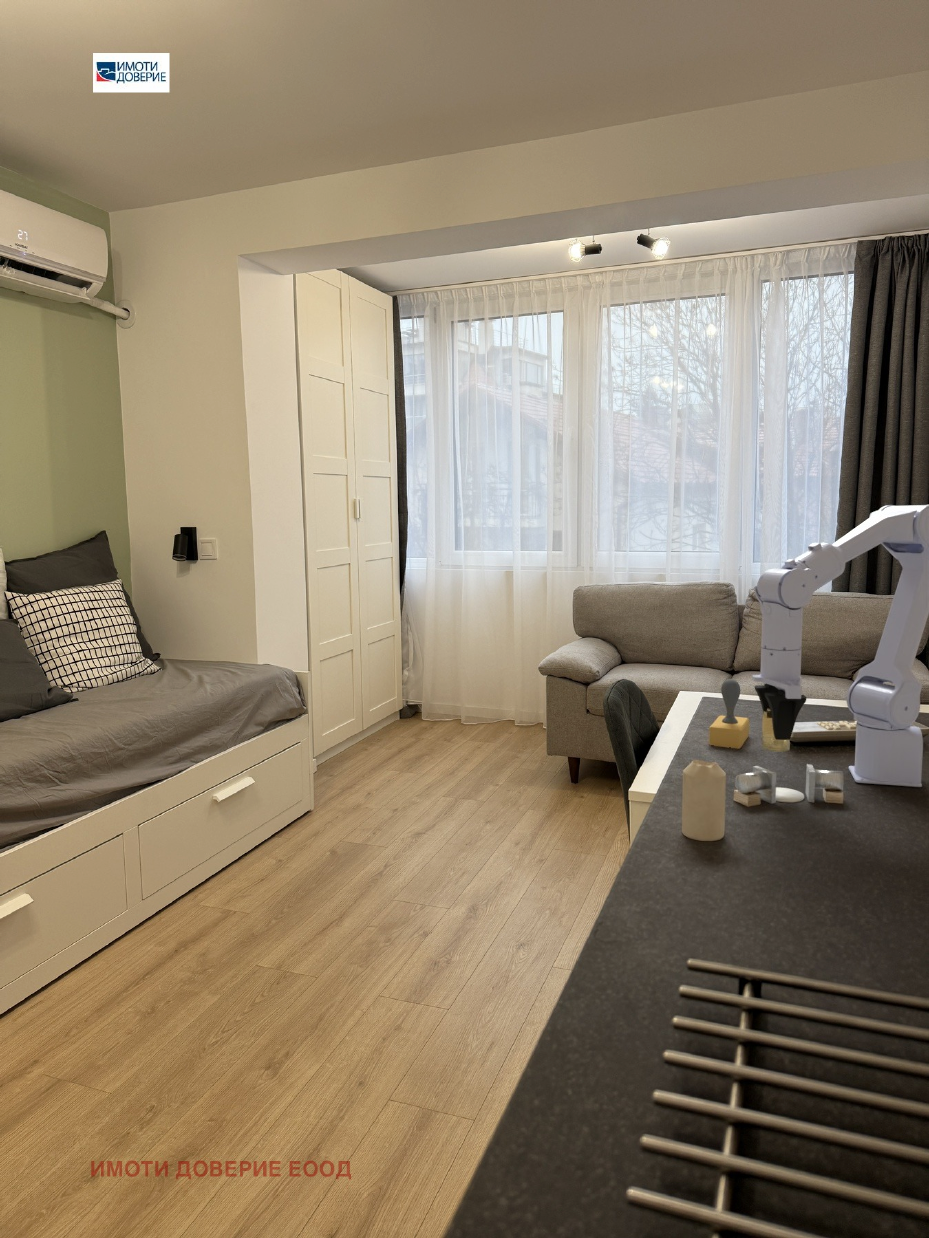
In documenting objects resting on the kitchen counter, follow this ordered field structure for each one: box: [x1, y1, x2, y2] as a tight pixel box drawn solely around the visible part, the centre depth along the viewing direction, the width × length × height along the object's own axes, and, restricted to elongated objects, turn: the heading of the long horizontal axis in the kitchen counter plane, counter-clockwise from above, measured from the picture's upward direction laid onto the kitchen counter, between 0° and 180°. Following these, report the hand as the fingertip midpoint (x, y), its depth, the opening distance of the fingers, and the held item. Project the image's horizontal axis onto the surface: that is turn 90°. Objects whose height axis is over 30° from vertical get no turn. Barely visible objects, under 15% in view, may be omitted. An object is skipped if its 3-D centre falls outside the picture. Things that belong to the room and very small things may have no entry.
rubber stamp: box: [708, 678, 750, 749], centre depth 157 cm, size 10×6×12 cm, turn 153°
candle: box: [681, 759, 727, 842], centre depth 111 cm, size 6×6×10 cm
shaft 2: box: [805, 763, 845, 804], centre depth 124 cm, size 5×4×5 cm
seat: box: [775, 786, 805, 803], centre depth 126 cm, size 6×6×1 cm
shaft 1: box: [733, 765, 777, 808], centre depth 124 cm, size 5×4×5 cm
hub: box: [761, 708, 791, 753], centre depth 127 cm, size 4×4×6 cm
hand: (778, 735), depth 127 cm, fingers closed on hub, 4 cm apart
